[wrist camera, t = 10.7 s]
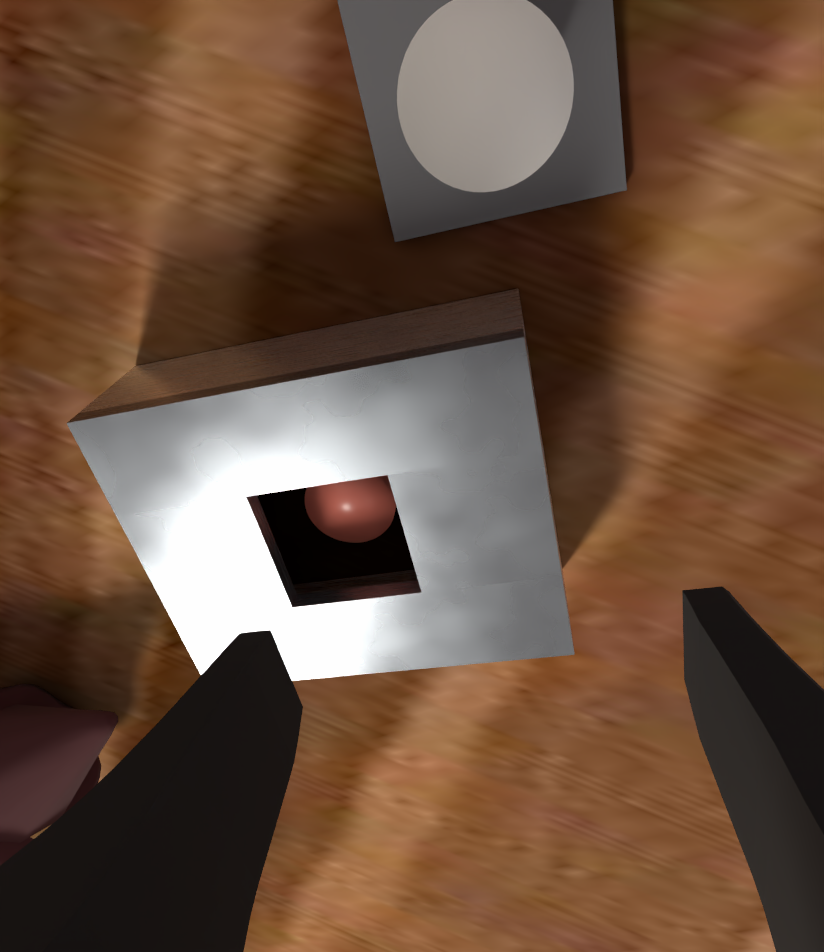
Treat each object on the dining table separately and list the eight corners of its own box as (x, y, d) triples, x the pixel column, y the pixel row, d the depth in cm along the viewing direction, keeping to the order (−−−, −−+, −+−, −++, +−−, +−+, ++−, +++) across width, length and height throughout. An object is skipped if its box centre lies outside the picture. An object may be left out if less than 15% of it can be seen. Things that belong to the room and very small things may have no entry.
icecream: (-47, 704, 21) (-208, 817, 28) (106, 883, 22) (-87, 948, 29) (114, 588, 27) (-52, 705, 34) (228, 731, 28) (44, 816, 35)
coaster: (601, -110, 14) (604, -114, 14) (624, 187, 17) (626, 190, 17) (334, -26, 16) (331, -29, 15) (396, 239, 19) (395, 241, 18)
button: (389, 434, 21) (382, 459, 20) (409, 508, 23) (404, 536, 21) (304, 448, 22) (292, 473, 20) (329, 519, 23) (320, 547, 22)
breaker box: (518, 288, 19) (524, 336, 15) (562, 569, 24) (574, 654, 20) (134, 366, 21) (66, 423, 18) (245, 607, 26) (208, 688, 23)
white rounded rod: (532, 15, 15) (566, -31, 9) (543, 132, 17) (579, 174, 10) (428, 39, 16) (380, 15, 9) (445, 152, 17) (415, 206, 10)
